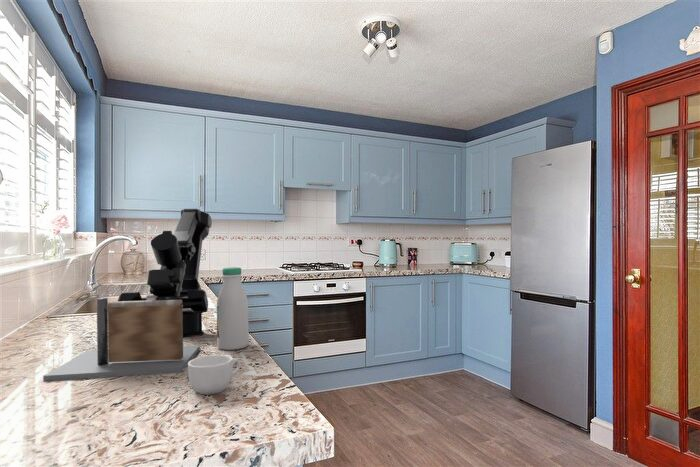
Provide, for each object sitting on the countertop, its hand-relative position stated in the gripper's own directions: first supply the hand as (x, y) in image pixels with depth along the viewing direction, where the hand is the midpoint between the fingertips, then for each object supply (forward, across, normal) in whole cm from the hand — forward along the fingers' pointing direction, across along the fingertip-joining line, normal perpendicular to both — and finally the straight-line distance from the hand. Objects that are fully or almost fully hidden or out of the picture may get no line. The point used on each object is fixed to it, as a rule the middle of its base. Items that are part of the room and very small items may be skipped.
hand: (157, 333), depth 91 cm
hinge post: (+4, -11, +4) cm, 12 cm away
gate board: (+3, -6, +7) cm, 10 cm away
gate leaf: (+4, -2, +3) cm, 6 cm away
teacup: (+17, +15, -7) cm, 24 cm away
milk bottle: (-4, +14, +14) cm, 20 cm away
